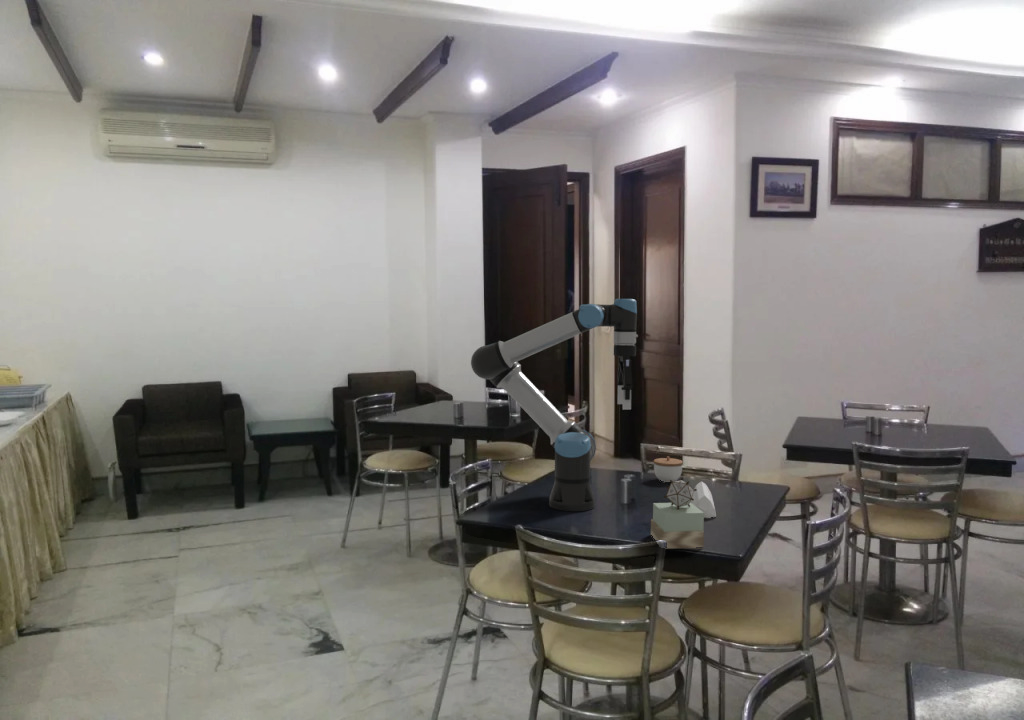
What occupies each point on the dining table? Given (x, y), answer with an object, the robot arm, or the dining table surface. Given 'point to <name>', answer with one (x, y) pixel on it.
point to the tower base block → (678, 537)
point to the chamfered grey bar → (704, 500)
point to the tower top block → (678, 517)
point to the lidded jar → (667, 469)
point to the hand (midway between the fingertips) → (624, 406)
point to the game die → (680, 493)
